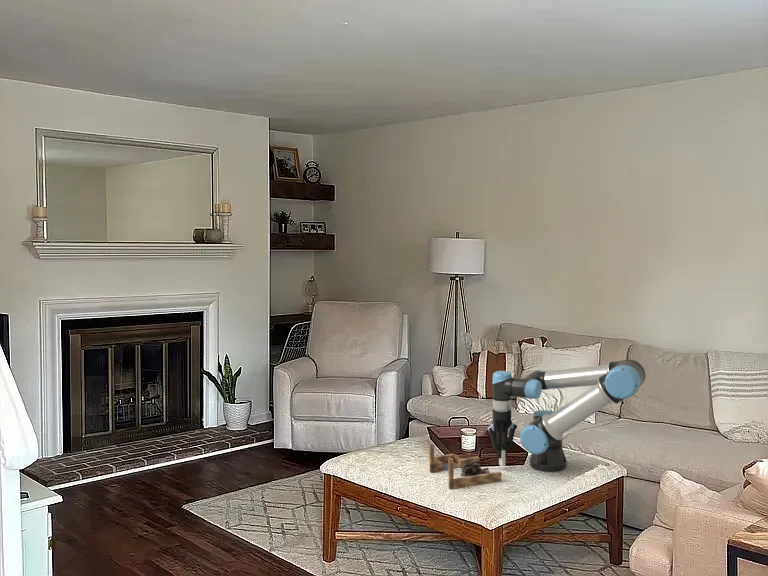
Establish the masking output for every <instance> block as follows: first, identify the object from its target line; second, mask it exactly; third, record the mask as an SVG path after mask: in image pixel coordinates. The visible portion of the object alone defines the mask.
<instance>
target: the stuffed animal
mask: <svg viewBox="0 0 768 576" xmlns="http://www.w3.org/2000/svg"><path fill="white" fill-rule="evenodd" d="M461 469H462V470H461V473H460V474H459V475H460V477H468V476H474V475H480V474H487V473H491V472H490V470H489V468H488V467H485V468H482V467H481V466H478V462H477V461H472V463H470V464H467V465H465V466H464V467H463V468H461Z"/></svg>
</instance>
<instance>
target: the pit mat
mask: <svg viewBox="0 0 768 576" xmlns="http://www.w3.org/2000/svg"><path fill="white" fill-rule="evenodd" d="M453 466H454V469H459V467H457V466H456V465H455V464H454V463H453ZM442 471H448V463H445V464H442Z"/></svg>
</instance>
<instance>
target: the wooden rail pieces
mask: <svg viewBox="0 0 768 576" xmlns="http://www.w3.org/2000/svg"><path fill="white" fill-rule="evenodd" d="M428 451H429V452H428V454H429V458H428V459H429V460H428V461H429V473H431V474H434V473H439V472H440V473H441V472H443V470H442V464H445V463H448V470H447V471H448V489H449V490H456V489H461V488H469V487H473V486H475V487H476V486H481V485H487V484H493V483H494V484H495V483H499V482H502V472H501V471H495V472H490V473H487V474H482V473H479V474H480V475H479V474H477V475H474V476H468V477H466V476H460V477H456V478H455V476H454V466H453V463H454V462H453V458H451V457H452V456H453V457H454V458H455V459H456V461H457V462H458V464H456V463H454V464H455V465H456V466H457V467H458V469H463V467H464V466H465V465H467V464H470V463H472V461H477V462H478V461H480V457H479V456H473V457H472V456H471V457H466V458H462V457H460V456H458V455H457V454H456V453H449V454H441V455H435V444H434V443H433V442H431V443H429V444H428ZM478 467H481V461H480V463H479V464H478Z"/></svg>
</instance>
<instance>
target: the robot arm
mask: <svg viewBox="0 0 768 576" xmlns="http://www.w3.org/2000/svg"><path fill="white" fill-rule="evenodd" d="M646 376H647V375H646V371H645V368H644V366H643V365H642V364H641V363H640V362H639V361H637V360H635V359H622V360H617V361H610V362H608V363H607V364H603V365H593V366H583V367H574V368H564V369H556V370H546V371H542V370H534V371H532V372H530V373H529V374H528V375H526V376H525V377H523V378H521V377H519V378H518V377H513V376H512V373H511V372H510V371H507V370H497V371H495V372H493V373H492V383H491V384H492V385H491V386H492V422H491V425H490V426H486V430H487V431H488V433H489V437H490V442H491V446H492V449H494V450H496V457H497V458H498V465H499V466H501V467H506V458H507V457H508V451H509V449H511V448H512V447H513V442H514V438H515V433H516V429H517V428H518V425H517V424H515V423H513V420H512V410H511V409H512V397H516V398H523V399H529V400H532V399H534V400H537V399H539V398H540V397H541V394H542V391H546V390H547V391H548V390H555V389H558V390H559V389H569V388H577V387H580V388H582V387H590V388H588V389H587V390H586V391H584V392H583V393H581V394H580V395H578V396H577V397H575V398H574V399H572V400H571V401H569V402H568V403H566V404H564V405H563V406H562V407H560V408H558V409H557V410H545V409H540V410H535V411H534V412H533V415H532V417H533V420H532V421H531V422H530V423H528V424H527V425H526V426H524V427H523V429H522V431H521V433H520V437H519V438H520V442H521V446H522V447H523V448H524V450H525V451H527V452H528V453H530V457H529V466H530V467H531V468H532V469H534V470H537V471H541V472H561V471H563V470H565V469H566V468H567V467H568V462H567V458H566V455H565V453H564V448H563V436H564V434H565V433H566V432H568V431H569V430H571V429H572V428H574V427H576V426H577V425H578V424H580V423H582V422H583V421H585V420H586V419H588V418H589V417H591V416H593V415H594V414H595V413H597V412H598V411H601V410H602V409H604V408H605V407H607V406H608V405H609V404H616V405H618V404H619V403H621V402H622V401H624V400H625V399H628V398H631V397H634V395H635V394H636V393H637V392H638V391H639V389H640V388H641V386H642V385H643V384H644V383H645V380H646V378H647V377H646ZM591 386H592V387H591Z"/></svg>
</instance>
